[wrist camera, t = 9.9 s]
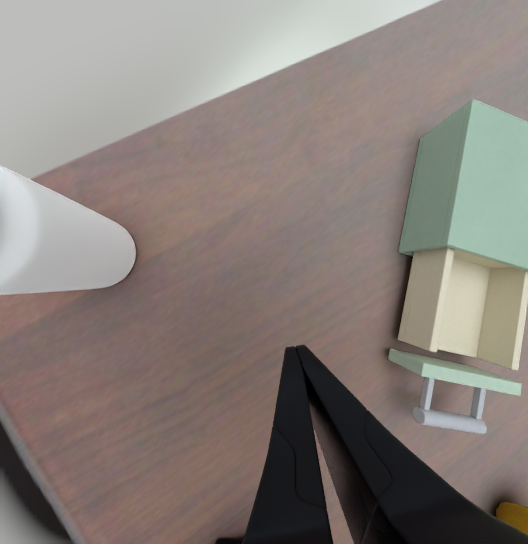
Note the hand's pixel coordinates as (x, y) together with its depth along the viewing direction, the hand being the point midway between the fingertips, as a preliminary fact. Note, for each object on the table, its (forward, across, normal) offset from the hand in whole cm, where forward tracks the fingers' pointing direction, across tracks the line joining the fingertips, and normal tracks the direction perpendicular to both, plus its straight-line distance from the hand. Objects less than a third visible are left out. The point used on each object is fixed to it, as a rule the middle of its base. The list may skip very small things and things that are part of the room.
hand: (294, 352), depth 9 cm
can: (+14, +15, -1) cm, 20 cm away
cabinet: (+18, -24, 0) cm, 29 cm away
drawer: (+10, -18, +11) cm, 24 cm away
